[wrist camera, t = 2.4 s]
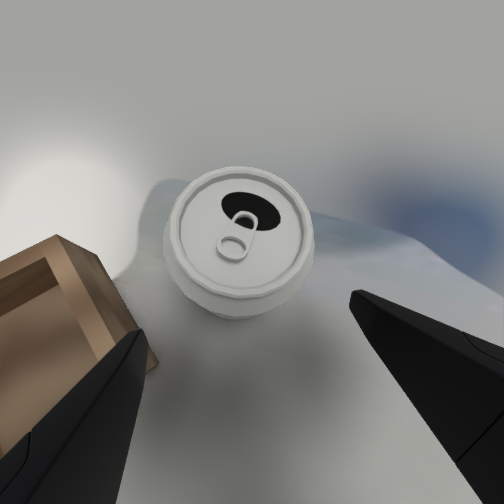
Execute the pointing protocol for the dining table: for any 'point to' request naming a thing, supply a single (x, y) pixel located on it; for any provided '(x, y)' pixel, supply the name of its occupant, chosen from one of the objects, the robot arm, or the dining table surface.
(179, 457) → the dining table surface
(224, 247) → the can
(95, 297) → the u rest
